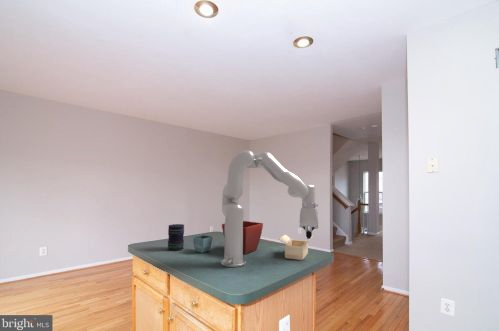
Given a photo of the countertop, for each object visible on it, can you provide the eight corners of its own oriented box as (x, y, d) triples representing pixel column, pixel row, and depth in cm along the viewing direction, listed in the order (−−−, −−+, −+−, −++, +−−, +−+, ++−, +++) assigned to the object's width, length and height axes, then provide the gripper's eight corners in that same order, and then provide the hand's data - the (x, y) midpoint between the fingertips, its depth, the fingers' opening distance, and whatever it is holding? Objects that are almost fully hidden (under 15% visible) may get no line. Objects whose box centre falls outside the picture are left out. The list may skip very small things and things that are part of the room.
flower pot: (212, 251, 151) (213, 236, 152) (202, 254, 143) (203, 238, 144) (202, 249, 156) (202, 234, 156) (192, 252, 148) (192, 237, 149)
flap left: (279, 238, 139) (278, 239, 140) (285, 243, 138) (284, 244, 138) (285, 234, 152) (285, 234, 152) (290, 239, 150) (290, 239, 150)
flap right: (302, 245, 134) (303, 246, 134) (308, 240, 133) (308, 240, 133) (307, 240, 146) (307, 241, 146) (312, 235, 145) (312, 236, 145)
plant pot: (245, 257, 138) (245, 227, 139) (220, 251, 149) (220, 223, 150) (263, 250, 153) (263, 223, 154) (240, 245, 164) (240, 220, 166)
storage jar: (186, 247, 159) (187, 224, 160) (178, 251, 149) (179, 226, 151) (172, 246, 161) (173, 223, 162) (164, 250, 152) (165, 226, 153)
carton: (302, 260, 132) (302, 247, 132) (284, 258, 136) (284, 245, 136) (308, 252, 147) (307, 240, 148) (291, 250, 151) (291, 239, 152)
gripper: (322, 206, 142) (323, 238, 140) (297, 205, 147) (297, 236, 146) (321, 207, 135) (321, 241, 133) (294, 206, 141) (294, 238, 139)
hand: (308, 238), depth 140 cm, fingers closed
